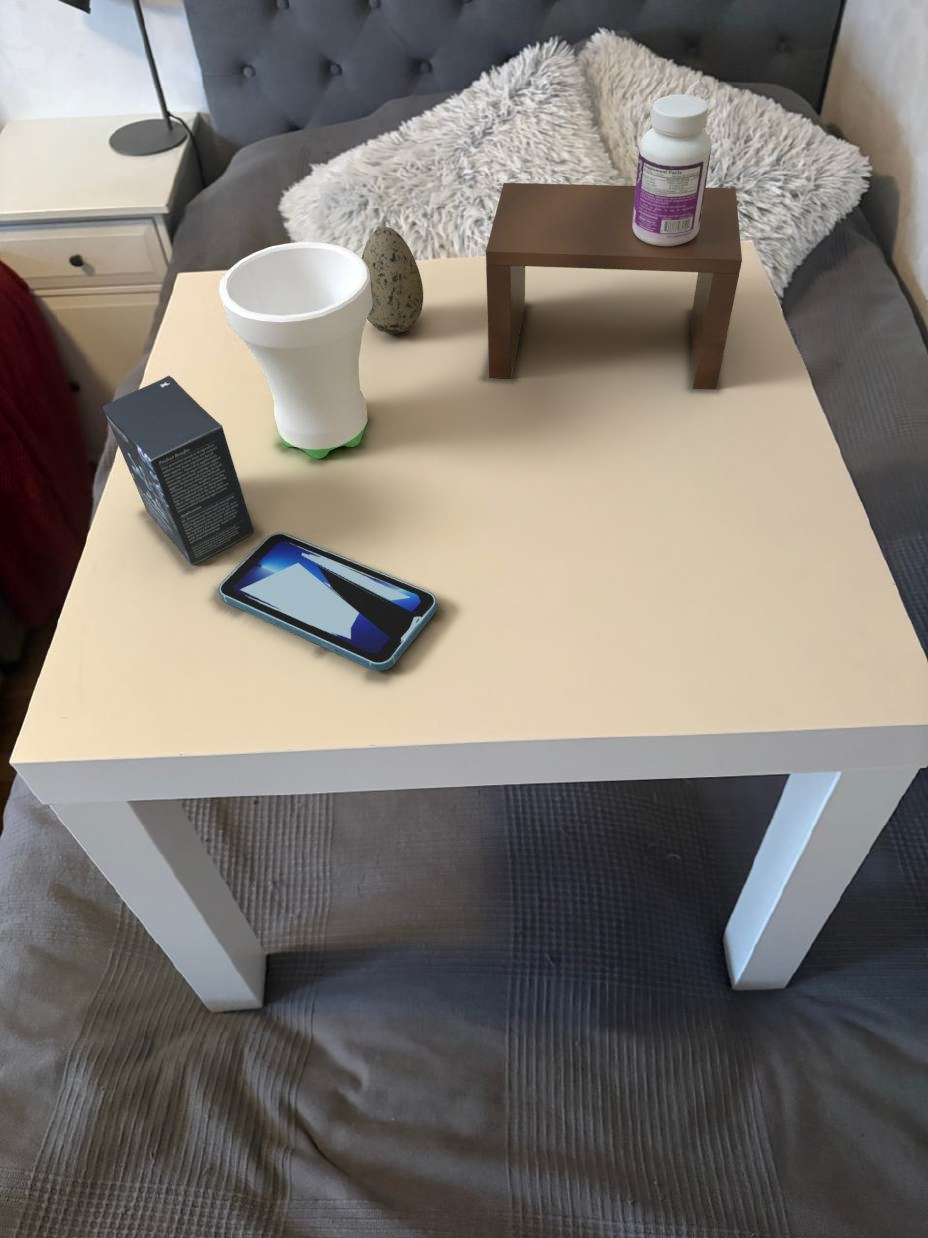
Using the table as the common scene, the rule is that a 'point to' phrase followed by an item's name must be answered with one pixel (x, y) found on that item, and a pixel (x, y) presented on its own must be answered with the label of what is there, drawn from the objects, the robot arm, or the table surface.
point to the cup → (305, 337)
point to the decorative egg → (392, 282)
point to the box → (181, 468)
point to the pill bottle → (672, 172)
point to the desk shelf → (607, 259)
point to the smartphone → (330, 600)
